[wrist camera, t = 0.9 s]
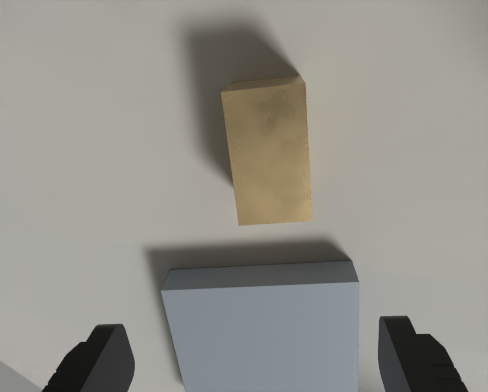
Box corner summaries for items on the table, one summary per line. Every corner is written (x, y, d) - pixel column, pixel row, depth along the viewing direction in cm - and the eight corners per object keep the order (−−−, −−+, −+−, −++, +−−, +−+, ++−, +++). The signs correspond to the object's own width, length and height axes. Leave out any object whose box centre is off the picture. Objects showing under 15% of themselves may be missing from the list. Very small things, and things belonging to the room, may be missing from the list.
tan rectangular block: (300, 74, 26) (305, 82, 21) (306, 192, 29) (312, 220, 25) (230, 82, 27) (220, 92, 22) (244, 196, 30) (238, 225, 25)
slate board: (351, 260, 31) (358, 282, 29) (351, 393, 38) (357, 421, 35) (170, 269, 33) (160, 290, 31) (198, 395, 39) (192, 421, 37)
